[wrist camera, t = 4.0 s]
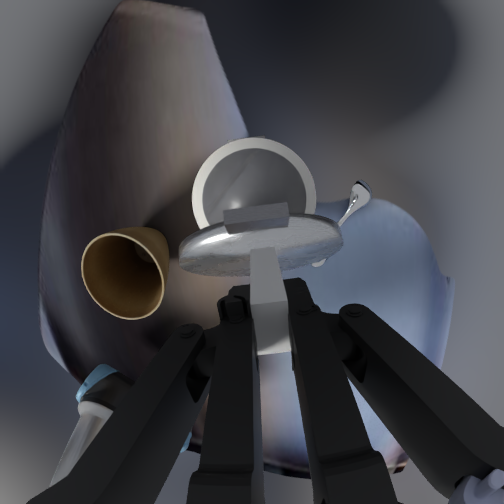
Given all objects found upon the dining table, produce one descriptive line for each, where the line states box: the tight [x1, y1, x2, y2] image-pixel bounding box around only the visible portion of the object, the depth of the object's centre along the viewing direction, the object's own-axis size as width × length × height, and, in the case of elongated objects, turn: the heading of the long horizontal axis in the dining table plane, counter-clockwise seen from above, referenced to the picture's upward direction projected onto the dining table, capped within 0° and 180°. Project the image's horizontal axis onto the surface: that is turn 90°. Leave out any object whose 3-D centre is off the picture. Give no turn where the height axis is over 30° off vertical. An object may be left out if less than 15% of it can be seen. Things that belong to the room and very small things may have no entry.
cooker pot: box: [192, 136, 316, 229], centre depth 44 cm, size 19×19×12 cm
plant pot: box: [81, 227, 169, 320], centre depth 46 cm, size 15×15×16 cm
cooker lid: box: [179, 202, 343, 277], centre depth 31 cm, size 19×21×2 cm
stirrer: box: [311, 180, 372, 267], centre depth 51 cm, size 20×4×5 cm
